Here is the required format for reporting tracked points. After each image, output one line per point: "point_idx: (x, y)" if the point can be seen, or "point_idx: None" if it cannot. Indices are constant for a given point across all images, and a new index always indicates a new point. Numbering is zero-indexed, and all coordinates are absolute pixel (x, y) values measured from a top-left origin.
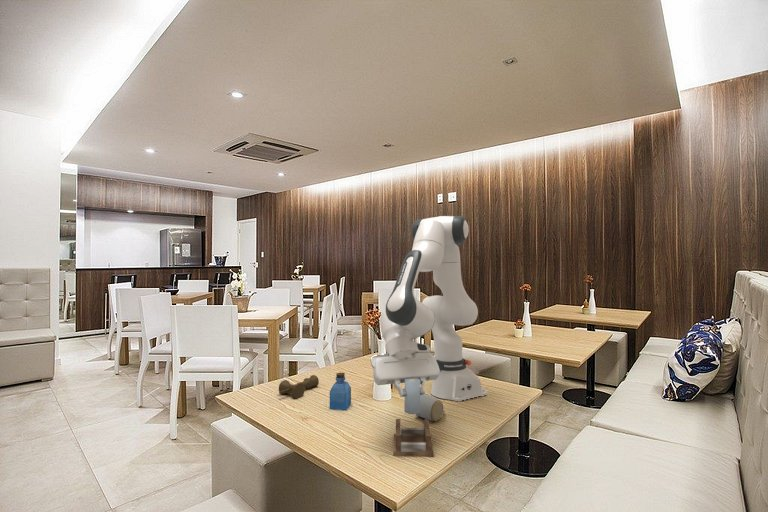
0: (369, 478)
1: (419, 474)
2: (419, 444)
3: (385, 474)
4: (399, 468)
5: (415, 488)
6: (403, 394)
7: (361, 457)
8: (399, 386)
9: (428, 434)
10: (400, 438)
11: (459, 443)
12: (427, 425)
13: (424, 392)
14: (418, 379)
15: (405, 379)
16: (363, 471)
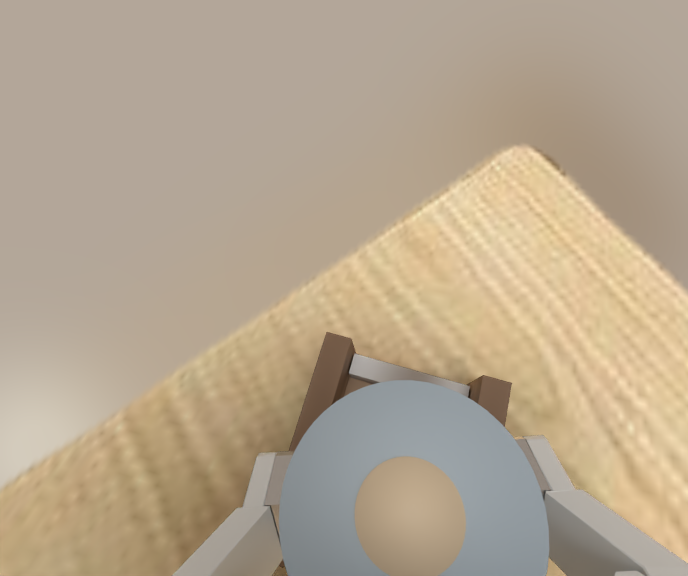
0: (606, 261)
1: (421, 249)
2: (382, 362)
3: (544, 272)
4: (485, 298)
5: (455, 184)
6: (519, 438)
7: (645, 418)
8: (601, 515)
9: (333, 351)
10: (480, 378)
11: (173, 429)
12: None
13: (268, 454)
14: (300, 506)
15: (531, 570)
16: (631, 308)
